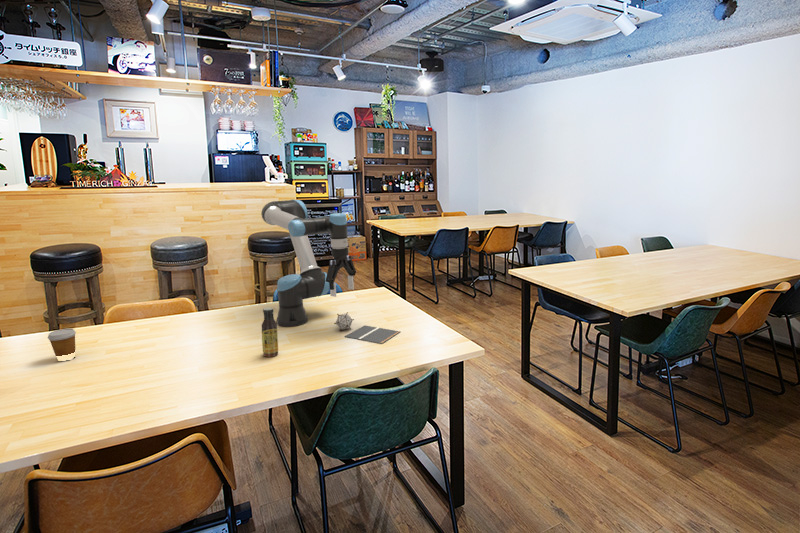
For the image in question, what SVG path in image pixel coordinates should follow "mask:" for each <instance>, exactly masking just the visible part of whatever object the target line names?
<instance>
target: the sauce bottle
mask: <svg viewBox="0 0 800 533" xmlns="http://www.w3.org/2000/svg"><path fill="white" fill-rule="evenodd" d="M262 312H263V321H262V323H261V343H262V345H261V346H262V354H263V357H265V356H266V357H265V358H272V356H273V357H275V355H276V356H277V355H278V354H279V335H278V326H277V325H278V324H277V320H275V317H274V313H275V312H274V308H273V307H264V308H263V310H262Z"/></svg>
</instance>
